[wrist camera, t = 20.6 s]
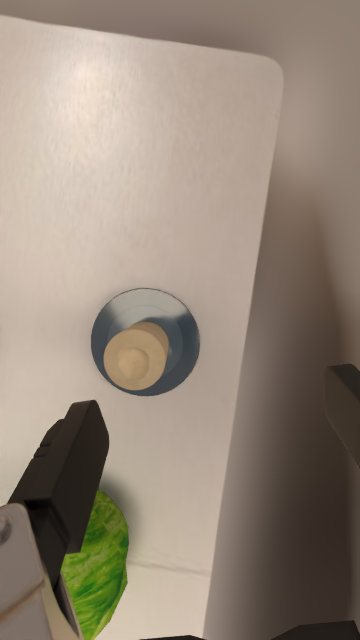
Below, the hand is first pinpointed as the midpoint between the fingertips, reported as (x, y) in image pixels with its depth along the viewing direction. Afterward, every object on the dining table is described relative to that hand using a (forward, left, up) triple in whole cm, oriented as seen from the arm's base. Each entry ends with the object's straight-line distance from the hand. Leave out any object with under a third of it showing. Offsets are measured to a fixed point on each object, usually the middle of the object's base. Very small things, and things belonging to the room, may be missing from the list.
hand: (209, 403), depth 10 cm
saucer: (+5, +3, -25) cm, 26 cm away
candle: (+5, +3, -24) cm, 25 cm away
